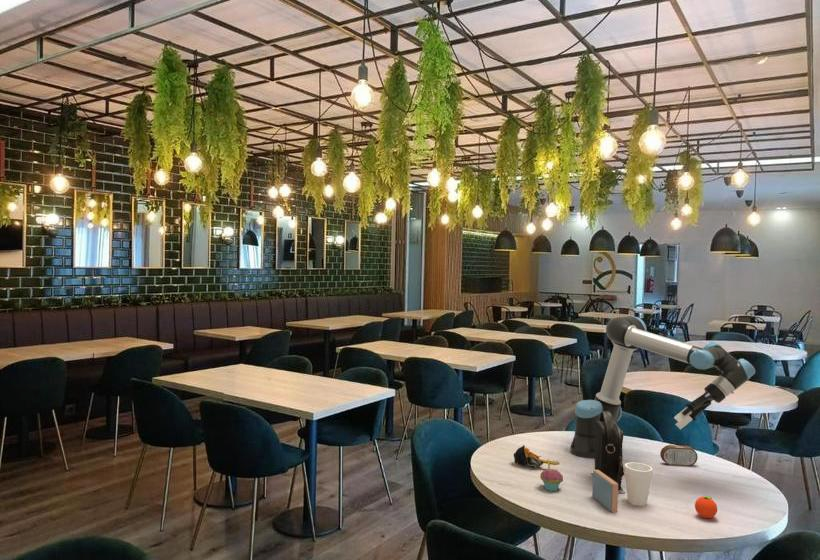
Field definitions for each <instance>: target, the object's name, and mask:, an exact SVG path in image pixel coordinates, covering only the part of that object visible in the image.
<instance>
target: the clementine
mask: <svg viewBox="0 0 820 560" xmlns="http://www.w3.org/2000/svg"><path fill="white" fill-rule="evenodd" d="M694 509H695V512H696V514H698V515H699V516H700V517H702V518H703V519H712V518H714V517H715V516H716V515H717V513H718V506H717V503H716V502H715V501H714V499H712V497H711V496H708V495H706V496H701V497H698V498H697V499H696V501H695V503H694Z"/></svg>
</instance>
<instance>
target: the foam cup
mask: <svg viewBox="0 0 820 560" xmlns="http://www.w3.org/2000/svg"><path fill="white" fill-rule="evenodd" d="M623 468H624V475H625V477H624V478H625V485H626V486H625V487H626V495H627V497H626V498H627V501H628V503H630V504H631V505H634V506H637V505H638V506H639V507H641V506H642V507H644V506H646V505H647V503H648V498H649V494H650V487H651V482H652V477H653V468H652V466H651V465H648V464H647V463H646V464H645V463H642V462H632V461H631V462H625V463H624V467H623ZM638 506H637V507H638Z"/></svg>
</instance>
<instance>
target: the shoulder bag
mask: <svg viewBox="0 0 820 560" xmlns="http://www.w3.org/2000/svg"><path fill="white" fill-rule="evenodd" d="M623 442H624V432H623V431H622V429H621V428H620V427H619V426H618V423H617V422H616V423H615V422H613V420H612V416H611V413H610V412H607V411H603V412H601V415H600V421H597V422H596V436H595V458H594V470H599V471H601V472H602V473H604V474H605V475H606V476H608V477H609V478H611V479H612V480H613V481H615V482H616V483H618V494H619V493H620V494H625V491H624V489H623V488H622V480H623V477H624V475H625V472H624V468H625V467H624V463H623ZM590 475H591V477H592V478H593V473H590Z"/></svg>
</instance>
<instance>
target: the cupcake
mask: <svg viewBox="0 0 820 560" xmlns="http://www.w3.org/2000/svg"><path fill="white" fill-rule="evenodd" d="M547 460H548V464H547V469H544V470H543V471H541V472H540V476H539V477H540V480H541V481H542V483H543V486H544V489H545V490H546V491H549V490H550V491H549V492H557V491H558V490H559V487H560V484H561V483H562V482H563V481H564V477H563V475H562V473H561V472H560V471H559V470H557V469H551V465H550V463H549V460H550V459H547Z"/></svg>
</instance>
